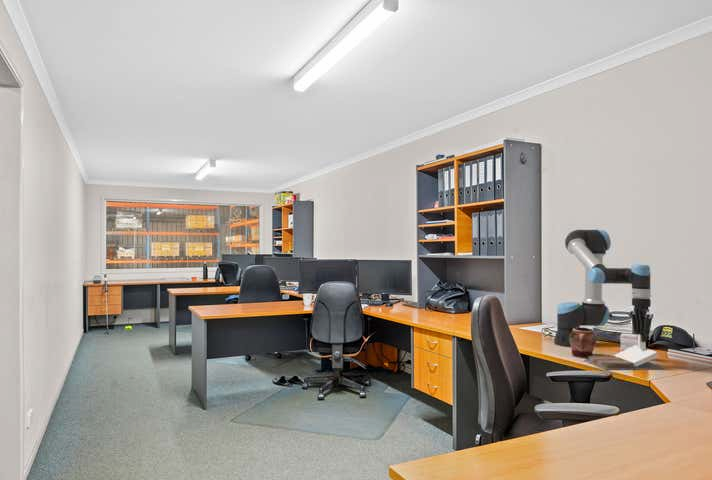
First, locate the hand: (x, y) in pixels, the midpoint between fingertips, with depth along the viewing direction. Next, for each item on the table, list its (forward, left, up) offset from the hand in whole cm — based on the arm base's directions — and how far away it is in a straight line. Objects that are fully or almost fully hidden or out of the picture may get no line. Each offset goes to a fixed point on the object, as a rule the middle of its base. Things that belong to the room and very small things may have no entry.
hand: (641, 348), depth 221 cm
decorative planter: (-18, -19, -8) cm, 27 cm away
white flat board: (0, -3, -4) cm, 5 cm away
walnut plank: (0, -15, -8) cm, 17 cm away
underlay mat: (0, -9, -8) cm, 12 cm away
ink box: (-13, +3, -8) cm, 15 cm away
